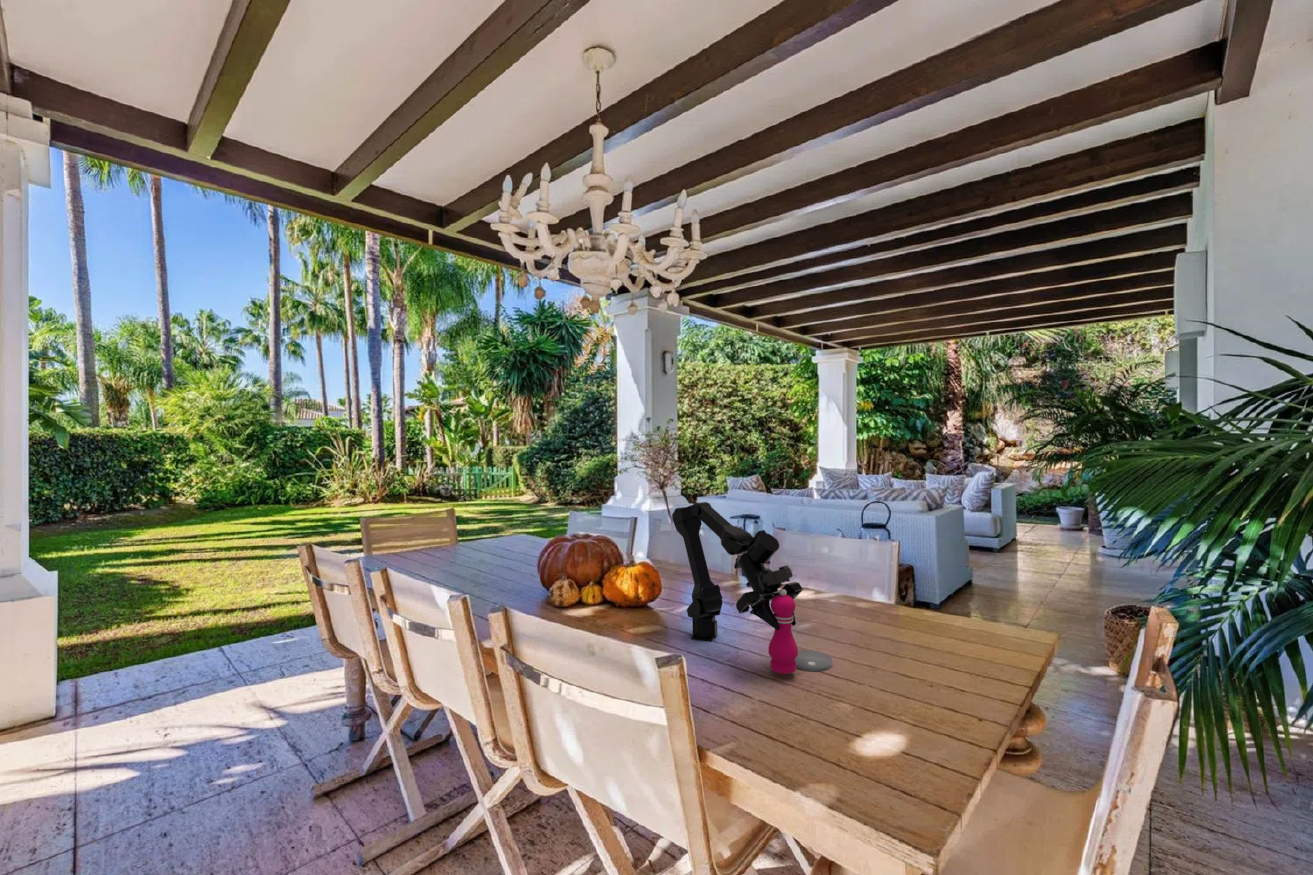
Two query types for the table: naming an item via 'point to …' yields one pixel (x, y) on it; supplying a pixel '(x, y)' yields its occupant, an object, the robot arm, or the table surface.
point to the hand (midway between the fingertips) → (786, 627)
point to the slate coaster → (813, 661)
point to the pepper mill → (783, 635)
